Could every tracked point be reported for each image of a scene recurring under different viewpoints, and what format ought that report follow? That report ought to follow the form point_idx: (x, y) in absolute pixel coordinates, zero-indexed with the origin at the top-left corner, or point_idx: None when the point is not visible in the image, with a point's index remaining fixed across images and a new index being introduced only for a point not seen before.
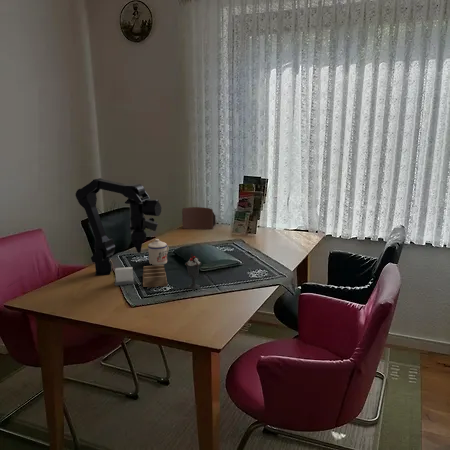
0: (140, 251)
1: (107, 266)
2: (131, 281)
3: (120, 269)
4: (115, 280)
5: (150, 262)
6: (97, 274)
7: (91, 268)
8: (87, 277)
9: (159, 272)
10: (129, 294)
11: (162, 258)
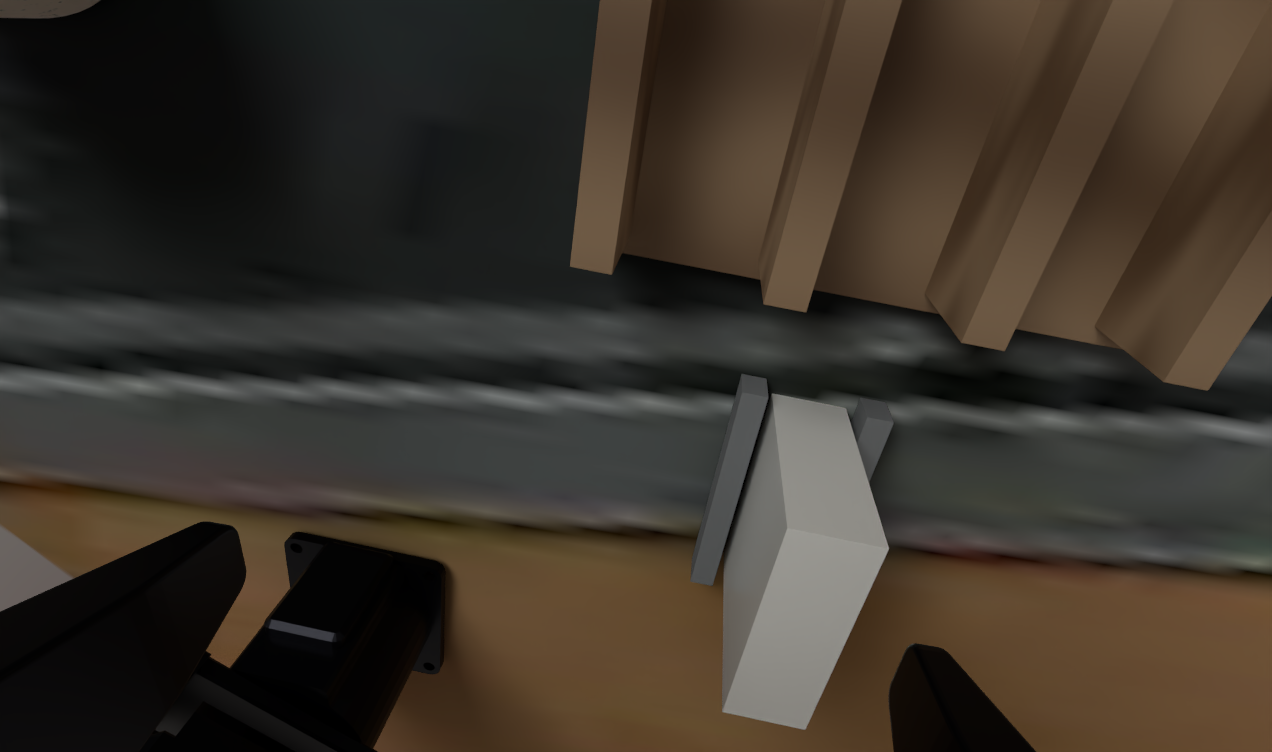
0: (972, 685)
1: (372, 639)
2: (880, 454)
3: (821, 680)
4: (712, 576)
5: (70, 5)
6: (440, 660)
7: (225, 653)
8: (471, 713)
9: (1128, 22)
10: (1202, 516)
11: None
